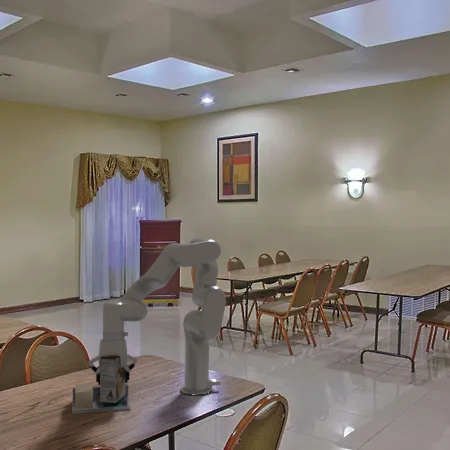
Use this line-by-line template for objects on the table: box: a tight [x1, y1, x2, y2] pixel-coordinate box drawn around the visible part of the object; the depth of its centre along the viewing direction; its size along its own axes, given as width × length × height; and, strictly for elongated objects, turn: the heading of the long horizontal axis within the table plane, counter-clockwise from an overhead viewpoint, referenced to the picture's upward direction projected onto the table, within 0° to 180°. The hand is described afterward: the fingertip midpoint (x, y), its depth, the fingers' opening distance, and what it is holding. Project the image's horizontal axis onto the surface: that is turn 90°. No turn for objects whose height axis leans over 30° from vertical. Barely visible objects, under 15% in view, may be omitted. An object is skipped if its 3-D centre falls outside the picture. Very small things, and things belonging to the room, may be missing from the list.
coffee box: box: [99, 356, 127, 403], centre depth 195 cm, size 9×6×16 cm
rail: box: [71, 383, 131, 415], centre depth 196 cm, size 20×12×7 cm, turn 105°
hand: (112, 383), depth 195 cm, fingers open, 9 cm apart
